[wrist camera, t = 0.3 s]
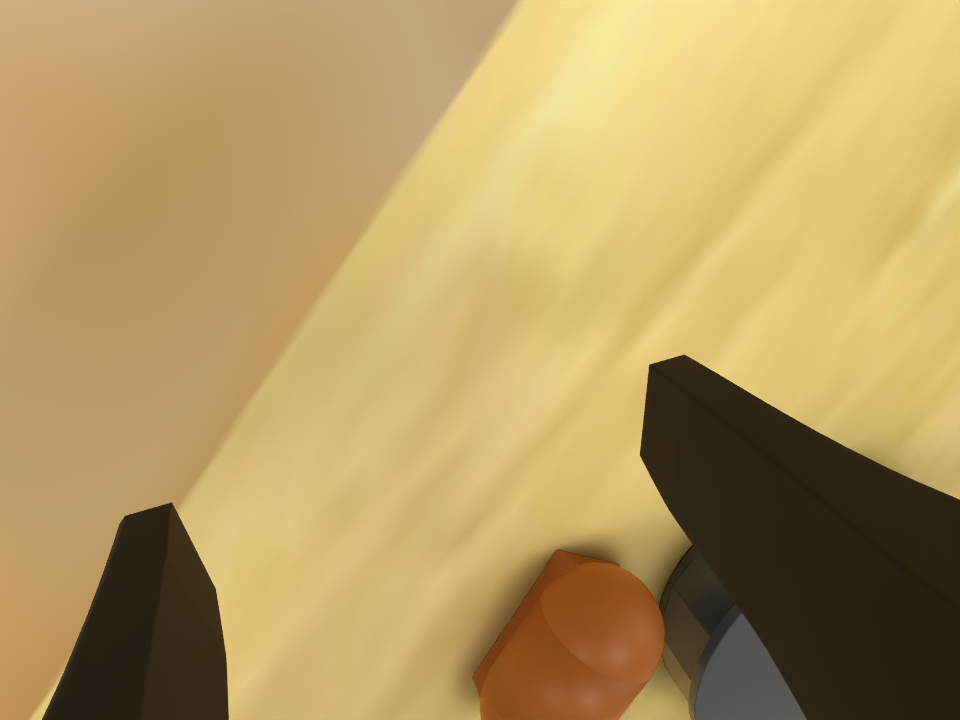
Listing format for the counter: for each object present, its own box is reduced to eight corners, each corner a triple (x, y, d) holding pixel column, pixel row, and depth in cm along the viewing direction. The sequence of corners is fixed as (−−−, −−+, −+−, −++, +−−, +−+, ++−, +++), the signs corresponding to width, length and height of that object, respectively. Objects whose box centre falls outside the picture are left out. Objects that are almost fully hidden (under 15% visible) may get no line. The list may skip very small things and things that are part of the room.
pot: (787, 693, 40) (833, 751, 37) (602, 667, 33) (640, 736, 30) (951, 498, 36) (1016, 547, 33) (777, 428, 29) (839, 480, 27)
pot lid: (824, 748, 38) (894, 838, 34) (617, 730, 31) (676, 840, 27) (1017, 531, 34) (1120, 607, 30) (828, 456, 27) (931, 541, 23)
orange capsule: (536, 702, 33) (584, 808, 29) (443, 692, 31) (481, 806, 27) (646, 547, 30) (715, 640, 26) (553, 524, 28) (614, 623, 24)
